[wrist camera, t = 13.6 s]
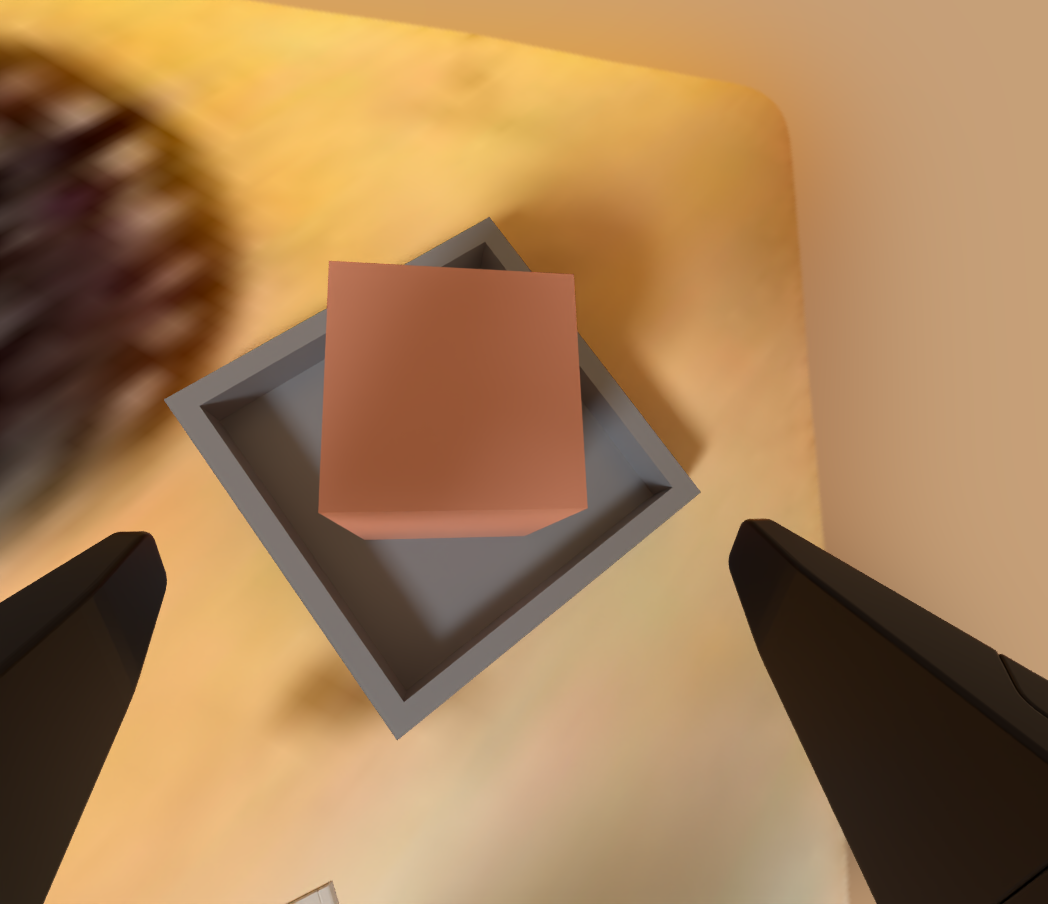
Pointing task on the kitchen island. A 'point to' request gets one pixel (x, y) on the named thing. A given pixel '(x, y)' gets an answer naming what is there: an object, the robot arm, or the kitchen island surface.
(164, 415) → the kitchen island surface
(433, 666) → the charcoal tray
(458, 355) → the terracotta block
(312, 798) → the kitchen island surface
